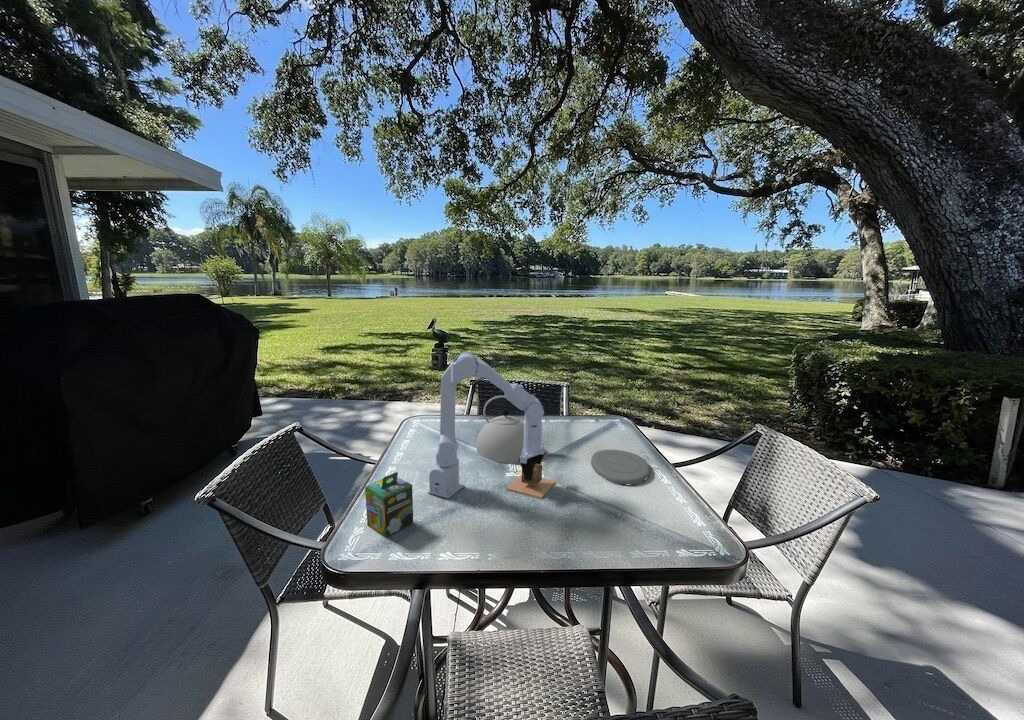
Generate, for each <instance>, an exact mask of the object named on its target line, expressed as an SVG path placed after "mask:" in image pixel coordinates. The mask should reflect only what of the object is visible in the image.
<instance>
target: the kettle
mask: <svg viewBox="0 0 1024 720" xmlns="http://www.w3.org/2000/svg"><path fill="white" fill-rule="evenodd" d="M501 398H502V399H503V398H504V399H506V398H505V395H496V396H494V397H492V398H489V400H487V401H486V402H485V404H484V406H483V411H482V414H483V417H484V418H483V419H485V421H486V423H485V424H484V425H483V426H482V427H481V429H480V431H479V433H478V435H477V438H476V450H477V453H478V454H479V455H480V456H481V457H483V458H485V459H488V460H491V461H490V462H492V461H495V462H494V463H499V462H502V464H509V463H510V464H512V463H511V462H513V463H518V462H517V461H518V460H519V458H520V456H521V455H522V450H523V444H524V421H522V420H521V419H519V418H517V417H516V416H512V415H509V414H510V411H509V409H507V408H504V409H503V410H502V412H501V413H502V415H499V416H496V417H493V418H491V419H490V420H489V419H488V417H487V415H486V408H487V407H488V404H489V403H490V402H492V401H494V400H497V399H501ZM477 453H476V454H477ZM481 457H480V458H481ZM483 458H482V459H483ZM485 459H484V460H485ZM488 460H487V461H488Z"/></svg>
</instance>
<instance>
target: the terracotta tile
mask: <svg viewBox="0 0 1024 720" xmlns="http://www.w3.org/2000/svg"><path fill="white" fill-rule="evenodd" d="M555 484H556V480H551V479H547V478H543V477H542V480H541V481H540V482H539V483H538V484H537V485H536V486H535V485H531V484H527V483H523V482H522V474H521V475H519V476H518V477H517V478H516V479H515V480H514V481H513V482H512V483H511V484H509V486H507V487H506V491H509V492H513V493H517V494H521V495H525V496H528V497H532V498H536V499H540V500H542V499H543V498H544V497H545V495H546V494H548V492H550V490H551V489H552V488H553V486H554V485H555Z"/></svg>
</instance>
